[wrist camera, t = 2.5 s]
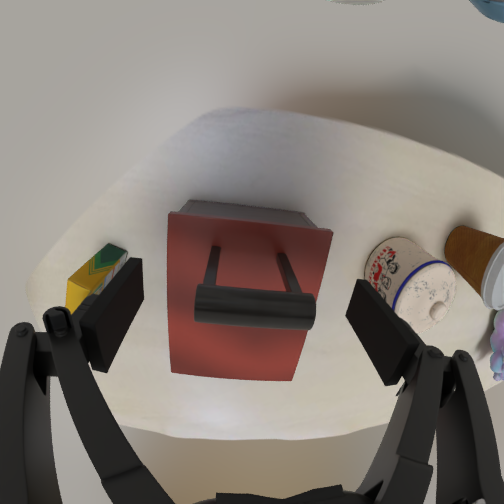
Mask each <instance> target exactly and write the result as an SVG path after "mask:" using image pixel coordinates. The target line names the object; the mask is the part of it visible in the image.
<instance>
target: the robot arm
mask: <svg viewBox="0 0 504 504" xmlns="http://www.w3.org/2000/svg"><path fill="white" fill-rule="evenodd" d="M469 1H470V2H471V3H472V4H473V5H474V6H475V7H476V8H477V9H478V10H479V11H480V12H481V13H482V14H483V15H485V16H486V17H488V18H490V19H492V20H495V21H497V22H501V23H504V0H469ZM143 300H144V290H143V268H142V259H141V258H132V257H130V258H129V259H128V261H127V262H126V263H125V264H124V265H123V266H122V268H121V269H120V270H119V271H118V272H117V273H116V275H115V276H114V277H113V278H112V279H111V281H110V282H109V283H108V284H107V286H106V287H105V288H104V289H103V290H102V292H101V293H100V294H99V295H98V294H91V295H89V296H88V297H86V298H85V299H84V300H83V301H82V302H81V303H80V305H79V306H78V307H77V309H76V310H75V311H74V312H73V313H72V314H71V312H70V310H69V309H68V308H66V307H61V306H58V307H53V308H50V309H48V310H47V311H46V312H45V313H44V314H43V321H44V325H45V328H46V331H47V332H35V330H34V327H33V326H32V324H30V323H27V322H22V323H18V324H16V325H15V326H14V327H12V328H11V331H10V333H9V336H8V340H7V343H6V347H5V351H4V356H3V360H2V364H1V368H0V504H62V499H61V495H60V490H59V485H58V480H57V474H56V468H55V462H54V455H53V445H52V434H51V419H50V376H56V377H58V378H59V381H60V385H61V388H62V391H63V394H64V397H65V400H66V403H67V406H68V408H69V411H70V414H71V416H72V419H73V422H74V424H75V426H76V429H77V431H78V434H79V436H80V438H81V440H82V443H83V445H84V447H85V449H86V451H87V453H88V455H89V457H90V459H91V461H92V463H93V465H94V467H95V469H96V471H97V473H98V474H99V477H100V479H101V483H102V486H103V488H104V489H105V491H106V493H107V494H108V496H109V498H110V499H111V501H112V502H113V504H175V503H174V502H173V500H172V499H171V498H170V497H169V496H168V494H167V493H166V492H165V491H164V489H163V488H162V487H161V486H160V484H159V483H158V482H157V480H156V479H155V478H154V477H153V475H152V474H151V473H150V471H149V470H148V469H147V468H146V466H145V465H143V463H142V462H141V461H140V459H139V458H138V456H137V455H136V453H135V452H134V450H133V449H132V447H131V445H130V444H129V442H128V441H127V439H126V437H125V436H124V434H123V432H122V431H121V429H120V427H119V426H118V424H117V422H116V420H115V418H114V417H113V415H112V413H111V411H110V409H109V407H108V405H107V403H106V401H105V399H104V397H103V395H102V393H101V391H100V389H99V387H98V385H97V383H96V381H95V379H94V376H93V374H92V372H91V370H90V367H89V365H88V363H89V361H90V364H91V367H92V370H96V371H100V372H104V373H107V372H108V370H109V368H110V366H111V364H112V361H113V359H114V357H115V355H116V353H117V351H118V349H119V347H120V345H121V343H122V341H123V339H124V337H125V335H126V333H127V331H128V329H129V327H130V325H131V323H132V321H133V319H134V317H135V315H136V313H137V311H138V310H139V308H140V306H141V304H142V302H143ZM345 316H346V318H347V319H348V321H349V323H350V324H351V326H352V328H353V330H354V331H355V333H356V335H357V336H358V338H359V340H360V342H361V343H362V345H363V347H364V349H365V350H366V352H367V354H368V356H369V358H370V359H371V361H372V363H373V365H374V367H375V368H376V370H377V372H378V374H379V376H380V377H381V379H382V381H383V383H384V385H385V386H390V385H396V384H397V383H398V382H399V380H400V378H401V377H402V376H403V378H404V380H405V382H404V383H403V385H402V386H401V388H400V390H399V391H398V393H397V394H396V396H398V395H399V397H398V400H397V403H396V406H395V408H394V411H393V414H392V417H391V419H390V422H389V425H388V428H387V430H386V432H385V435H384V437H383V440H382V442H381V444H380V447H379V449H378V451H377V453H376V456H375V458H374V460H373V462H372V464H371V466H370V468H369V470H368V472H367V474H366V477H365V478H364V480H363V482H362V484H361V485H360V487H359V488H358V489H357V490H356V492H352V491H343V488H342V485H335V486H331V487H324V488H317V489H312V490H310V491H307V492H304V493H301V494H298V495H295V496H292V497H289V498H286V499H277V498H270V497H264V496H259V495H253V494H233V493H216V498H214V499H207V500H203V501H200V502H197V503H194V504H423V502H424V500H425V497H426V493H427V490H428V487H429V484H430V481H431V477H432V474H433V466H432V465H428V460H429V456H430V452H431V448H432V444H433V440H434V435H435V430H436V437H437V438H436V439H437V491H436V504H504V482H503V479H502V476H501V470H500V462H499V455H498V449H497V444H496V438H495V434H494V429H493V425H492V420H491V417H490V412H489V409H488V405H487V401H486V398H485V394H484V391H483V388H482V384H481V381H480V378H479V375H478V373H477V370H476V367H475V364H474V361H473V359H472V357H471V356H470V355H469V353H468V352H466V351H463V350H456V351H455V352H454V354H453V356H452V357H447V356H444V354H443V353H442V351H441V350H439V349H438V348H436V347H434V346H426V344H425V343H424V342H423V341H422V340H421V338H420V337H419V336H418V335H417V333H415V331H414V330H413V329H412V327H411V326H410V325H409V324H408V323H407V322H406V321H405V320H403V319H402V318H400V317H399V316H398V315H397V314H396V313H395V312H394V310H393V309H392V308H391V307H390V306H389V304H388V303H387V302H386V301H385V300H384V299H383V297H382V296H381V295H380V294H379V293H378V292H377V291H376V289H375V288H374V287H373V286H372V285H371V284H370V283H369V281H368V280H362V279H357V281H356V284H355V287H354V290H353V294H352V297H351V300H350V303H349V306H348V309H347V312H346V315H345ZM455 388H456V389H455ZM454 390H455V391H454Z"/></svg>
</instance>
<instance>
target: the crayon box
mask: <svg viewBox="0 0 504 504" xmlns="http://www.w3.org/2000/svg"><path fill="white" fill-rule="evenodd" d="M126 256H127V252H126V251H124V250H121V249H119V248H117V247H115V246H113V245H111V244H107V245H106V246H105V247H104V248H102V249H101V250H100V251H99V252H98V253H97V254H95V255H94V256H93V257H92V258H91V259H90V260H88V261H87V262H86V263H85V264H84V265H83V266H82V267H81V268H80V269H78V270H77V271H76V272H75V273H74V274H73V275H72V276H71V277H70V278H68V282H67V293H66V305H65V307H66V308H68V309H69V310H70V312H71V314H72V313H73V312H74V311H75V310H76V309H77V307H78V306H79V305H80V303H81V302H82V301H83V300H84V299H85V298H86V297H88V296H89V295H91V294H98V295H99V294H100V293H101V292H102V290H103V289H104V288H105V287H106V286H107V284H108V283H109V282H110V281H111V279H112V278H113V277H114V276H115V275H116V273H117V272H118V271H119V270H120V269H121V268H122V266H123V265H124V264H125V260H126Z"/></svg>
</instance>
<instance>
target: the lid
mask: <svg viewBox="0 0 504 504" xmlns="http://www.w3.org/2000/svg"><path fill="white" fill-rule="evenodd" d="M332 236H333V231H332V230H330V229H325V228H317V227H310V226H302V225H294V224H286V223H278V222H270V221H261V220H252V219H243V218H234V217H225V216H215V215H205V214H194V213H184V212H172V211H171V212H170V213H169V214H168V232H167V309H168V333H169V350H170V364H171V372H172V373H179V374H187V375H195V376H204V377H214V378H226V379H240V380H260V381H292V379H293V376H294V373H295V370H296V367H297V364H298V361H299V358H300V354H301V351H302V348H303V345H304V342H305V338H306V335H307V332H308V330H310V329H311V328H312V327H313V324H314V321H315V316H316V300H317V297H318V293H319V289H320V286H321V282H322V278H323V274H324V270H325V266H326V262H327V258H328V254H329V249H330V245H331V241H332Z"/></svg>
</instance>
